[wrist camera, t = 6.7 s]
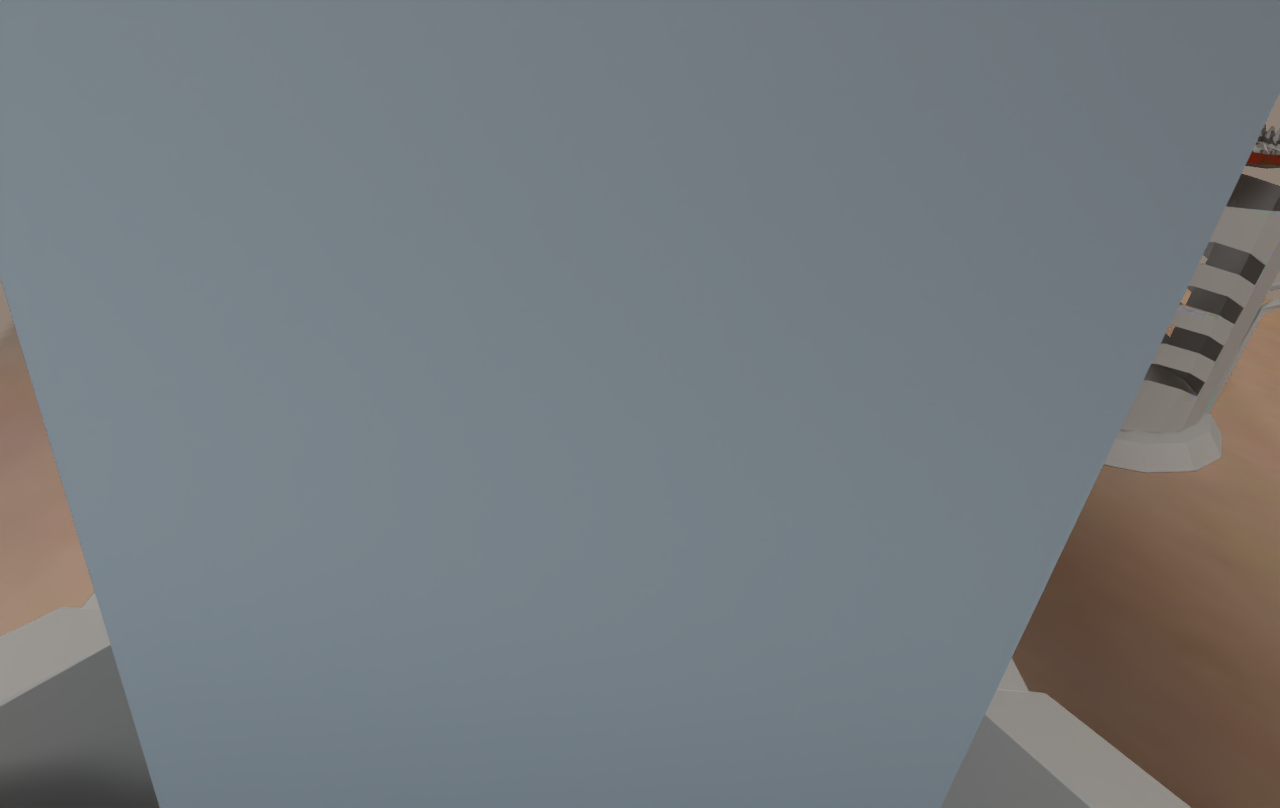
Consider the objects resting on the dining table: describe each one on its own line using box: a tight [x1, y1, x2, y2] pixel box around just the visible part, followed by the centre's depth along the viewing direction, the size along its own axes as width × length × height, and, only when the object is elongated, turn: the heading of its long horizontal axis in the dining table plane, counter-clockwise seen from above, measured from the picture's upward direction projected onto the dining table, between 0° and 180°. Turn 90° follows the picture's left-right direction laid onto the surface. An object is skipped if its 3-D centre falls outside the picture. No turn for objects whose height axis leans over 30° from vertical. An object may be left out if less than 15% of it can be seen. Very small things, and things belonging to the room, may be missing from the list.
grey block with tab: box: [0, 0, 1280, 808], centre depth 8 cm, size 4×6×15 cm
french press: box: [1103, 125, 1280, 473], centre depth 23 cm, size 10×12×25 cm
